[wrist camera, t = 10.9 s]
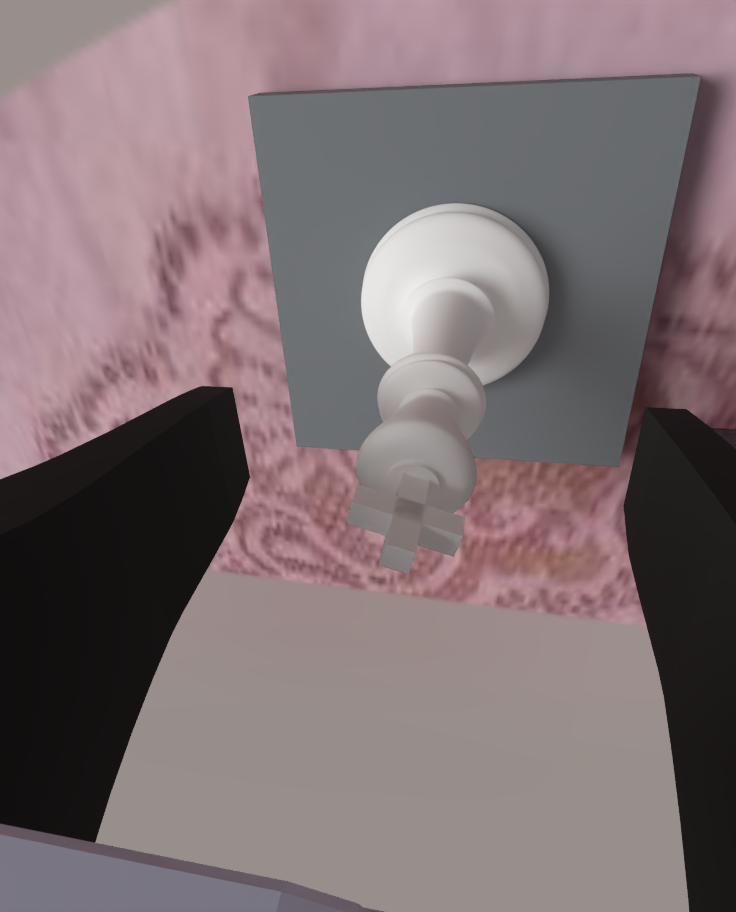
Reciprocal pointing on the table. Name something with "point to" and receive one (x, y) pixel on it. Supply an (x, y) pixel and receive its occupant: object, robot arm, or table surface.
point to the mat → (494, 187)
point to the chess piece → (439, 365)
